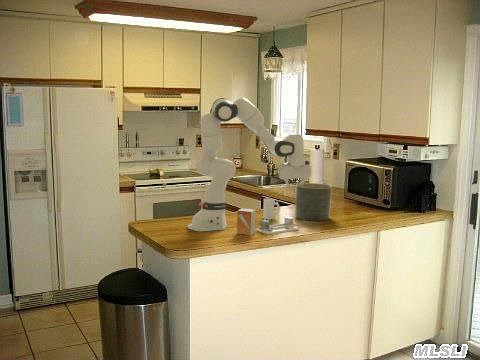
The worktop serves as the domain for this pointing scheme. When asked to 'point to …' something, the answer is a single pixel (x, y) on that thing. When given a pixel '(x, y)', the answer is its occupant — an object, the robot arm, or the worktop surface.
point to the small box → (246, 221)
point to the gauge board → (275, 228)
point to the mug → (269, 209)
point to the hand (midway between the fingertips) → (294, 186)
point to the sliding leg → (289, 221)
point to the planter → (313, 201)
